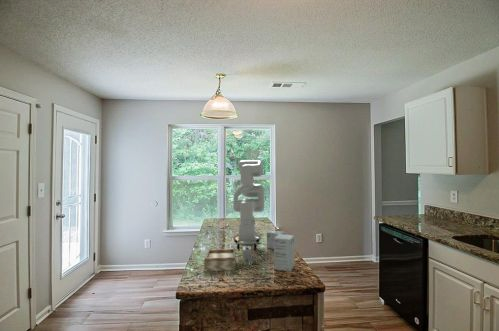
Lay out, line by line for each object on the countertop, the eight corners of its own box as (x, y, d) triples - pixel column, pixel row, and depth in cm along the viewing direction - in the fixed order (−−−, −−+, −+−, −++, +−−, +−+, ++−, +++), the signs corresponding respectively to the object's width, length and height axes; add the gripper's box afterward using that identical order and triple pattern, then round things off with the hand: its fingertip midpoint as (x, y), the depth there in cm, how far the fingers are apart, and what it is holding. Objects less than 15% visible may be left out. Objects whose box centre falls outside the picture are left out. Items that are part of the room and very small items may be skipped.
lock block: (250, 255, 170) (250, 244, 170) (251, 259, 163) (251, 248, 163) (242, 256, 170) (242, 245, 170) (243, 259, 163) (242, 248, 163)
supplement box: (279, 263, 156) (278, 233, 156) (295, 265, 152) (294, 235, 152) (273, 269, 147) (273, 237, 147) (290, 271, 143) (290, 239, 143)
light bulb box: (284, 247, 187) (284, 231, 187) (281, 250, 181) (281, 233, 181) (270, 245, 192) (269, 230, 192) (266, 248, 186) (266, 232, 186)
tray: (235, 260, 162) (235, 249, 162) (234, 270, 146) (234, 257, 147) (208, 260, 162) (208, 249, 162) (204, 270, 146) (204, 258, 146)
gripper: (260, 220, 171) (260, 248, 170) (232, 221, 170) (232, 249, 170) (261, 222, 163) (261, 251, 163) (232, 223, 163) (232, 252, 162)
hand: (246, 250), depth 166 cm, fingers open, 9 cm apart
